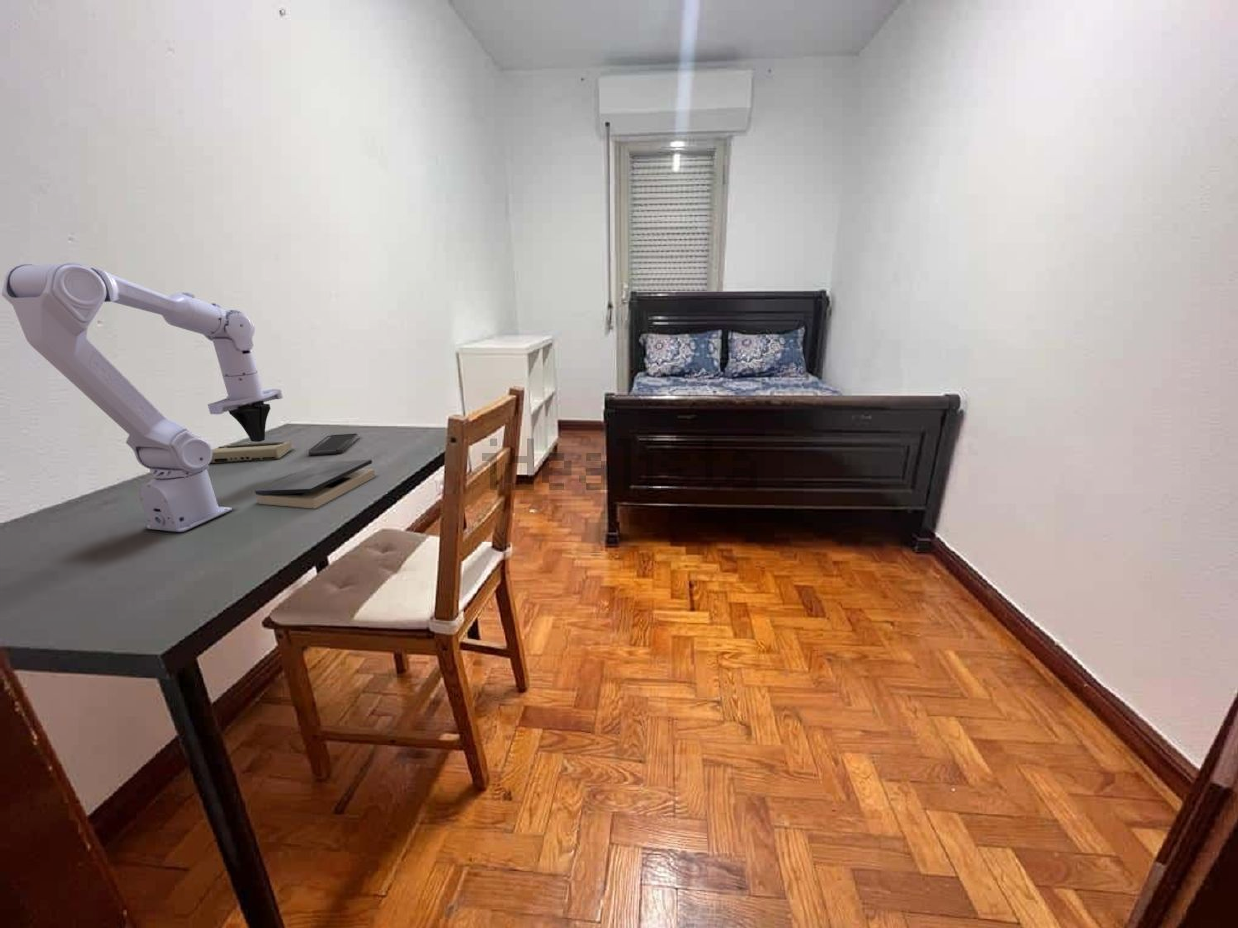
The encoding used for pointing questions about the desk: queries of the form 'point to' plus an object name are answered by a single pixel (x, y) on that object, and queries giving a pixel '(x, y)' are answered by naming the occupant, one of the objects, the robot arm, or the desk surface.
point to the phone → (333, 444)
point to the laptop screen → (313, 477)
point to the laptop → (319, 492)
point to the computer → (250, 452)
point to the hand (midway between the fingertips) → (258, 440)
